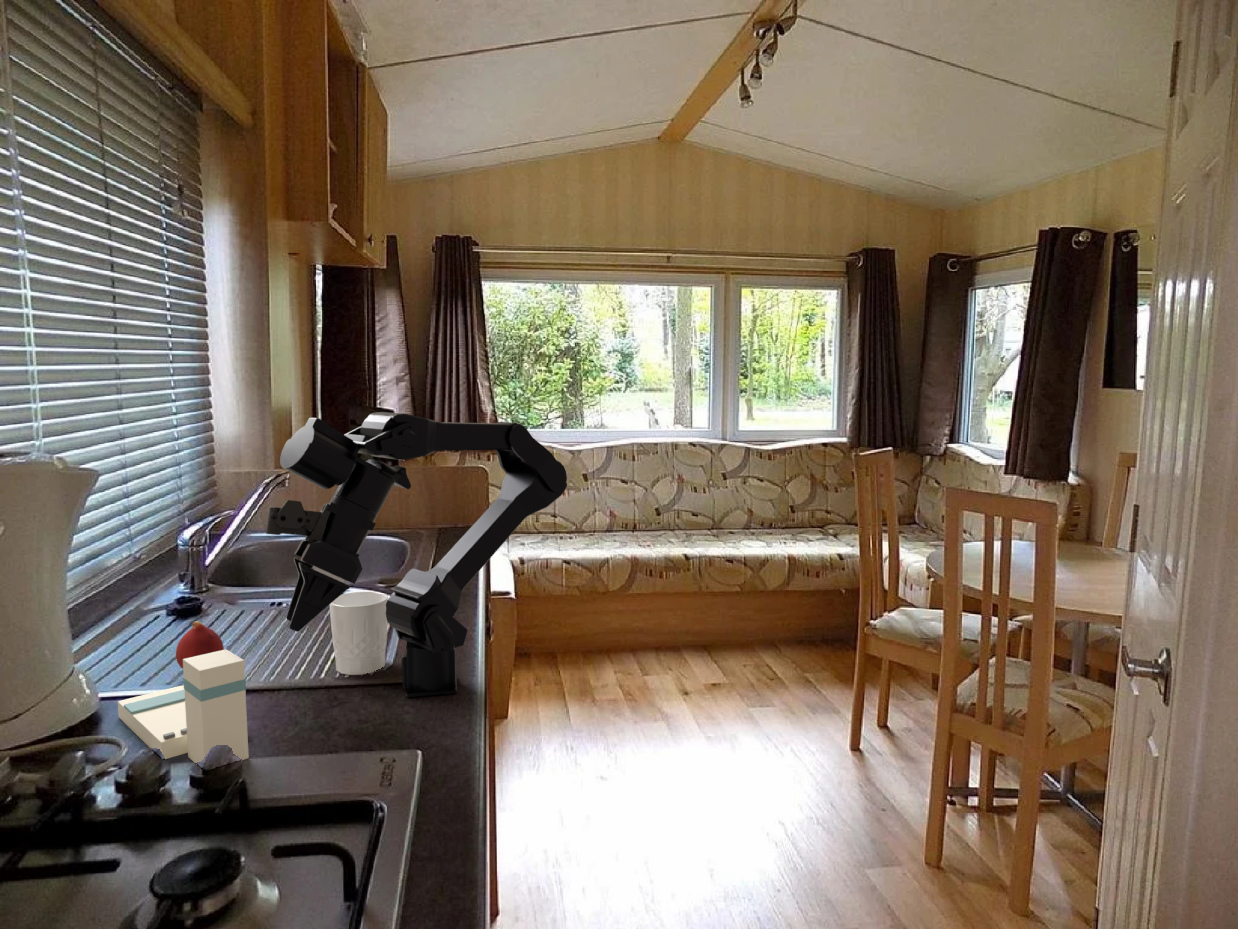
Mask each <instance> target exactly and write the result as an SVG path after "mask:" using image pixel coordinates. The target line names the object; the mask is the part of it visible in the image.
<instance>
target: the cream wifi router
mask: <svg viewBox="0 0 1238 929" xmlns="http://www.w3.org/2000/svg"><path fill="white" fill-rule="evenodd" d="M117 710H118V718H119V719H120V720H121V721H122V722H123V723H124V724H125V725H126V727H128V728H129V729H130V730H131V731H132V732H133V733H134V734H135V736H137V737H139V738H140V740H141V741H142V742H144V744H145V745H146V746H148V748H150V749H151V748H157V749H160V751H161V752H162V754H163V755H164V758H165V760H167V759H171V758H174V757H178V756H181V755H184V754H188V745H187V727H186V709H185V691H184V685H178V686H175V687H171V688H166V689H163V690H162V689H161V690H157V691H155V692H150V693H146V694H142V695H138V696H137V695H136V696H134V697H130V698H126V699H122V700H118V701H117Z"/></svg>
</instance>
